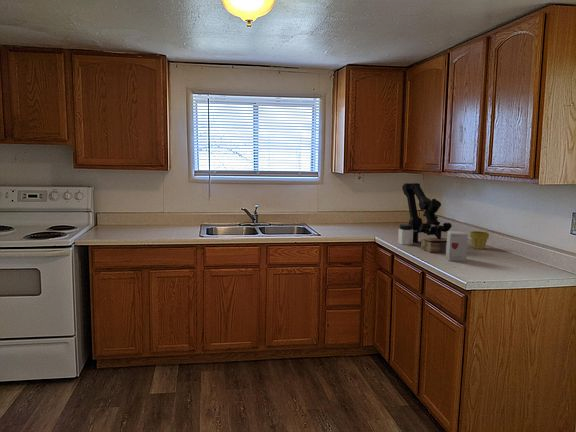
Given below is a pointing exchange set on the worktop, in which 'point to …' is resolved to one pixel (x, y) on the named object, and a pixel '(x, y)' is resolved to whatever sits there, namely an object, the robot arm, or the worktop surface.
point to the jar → (405, 234)
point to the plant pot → (479, 239)
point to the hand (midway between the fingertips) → (439, 239)
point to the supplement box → (456, 246)
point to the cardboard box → (434, 246)
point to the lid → (434, 239)
